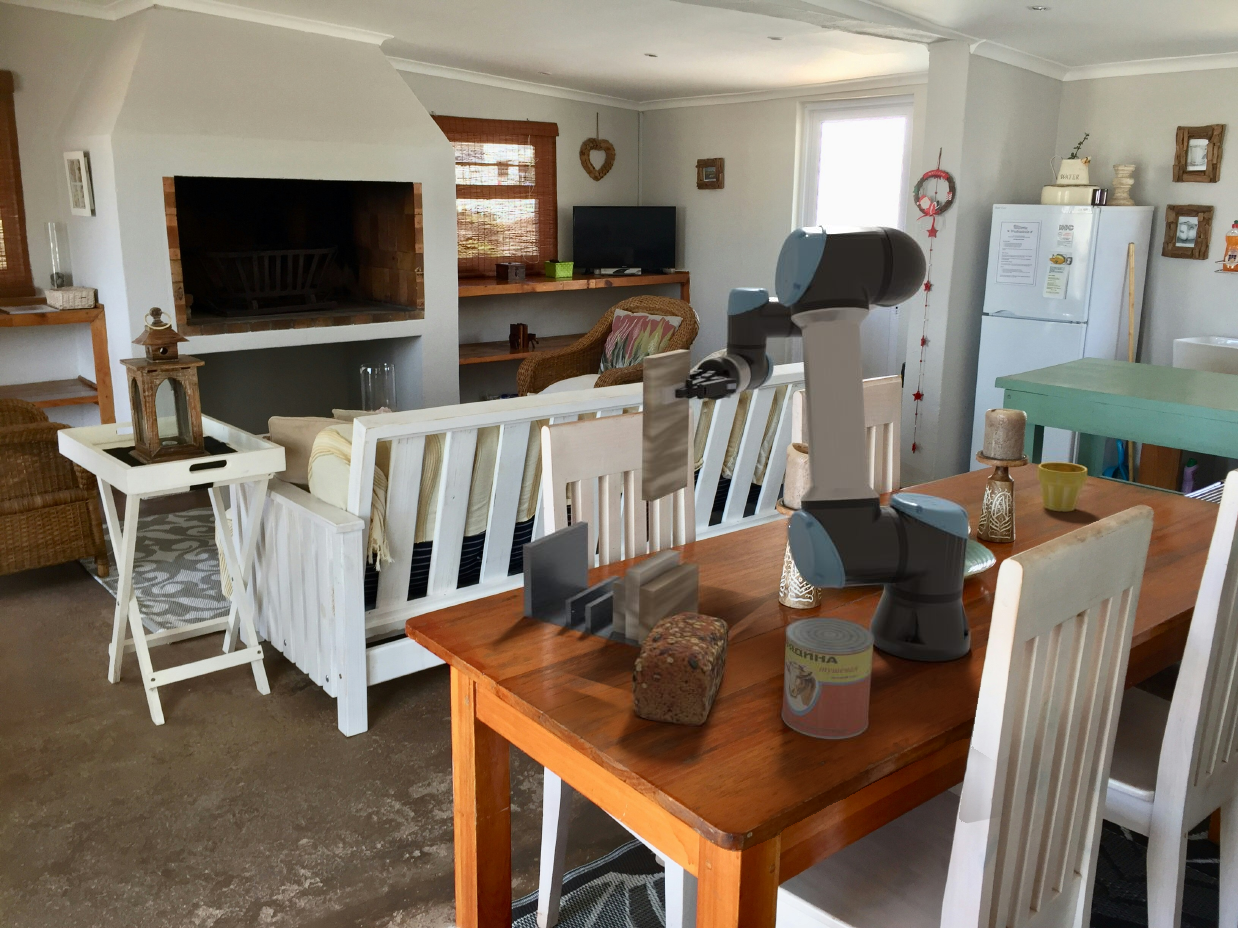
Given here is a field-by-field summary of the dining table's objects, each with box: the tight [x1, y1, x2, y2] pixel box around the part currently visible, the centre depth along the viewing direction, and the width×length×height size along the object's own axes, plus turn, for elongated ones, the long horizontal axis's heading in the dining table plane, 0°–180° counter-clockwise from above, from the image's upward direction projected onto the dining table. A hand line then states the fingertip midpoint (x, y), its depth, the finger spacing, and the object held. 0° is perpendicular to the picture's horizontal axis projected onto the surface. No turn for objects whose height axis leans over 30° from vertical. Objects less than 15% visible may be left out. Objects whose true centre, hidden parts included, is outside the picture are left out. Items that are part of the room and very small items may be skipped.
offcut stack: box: [613, 548, 700, 644], centre depth 158 cm, size 8×14×11 cm, turn 147°
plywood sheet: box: [641, 349, 691, 503], centre depth 170 cm, size 2×12×24 cm, turn 147°
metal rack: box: [522, 521, 641, 649], centre depth 162 cm, size 25×16×14 cm, turn 57°
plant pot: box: [1037, 461, 1088, 513], centre depth 230 cm, size 10×10×10 cm
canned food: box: [781, 616, 874, 740], centre depth 132 cm, size 11×11×12 cm
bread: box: [631, 612, 730, 727], centre depth 139 cm, size 19×11×10 cm, turn 165°
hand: (656, 395), depth 166 cm, fingers closed on plywood sheet, 2 cm apart
